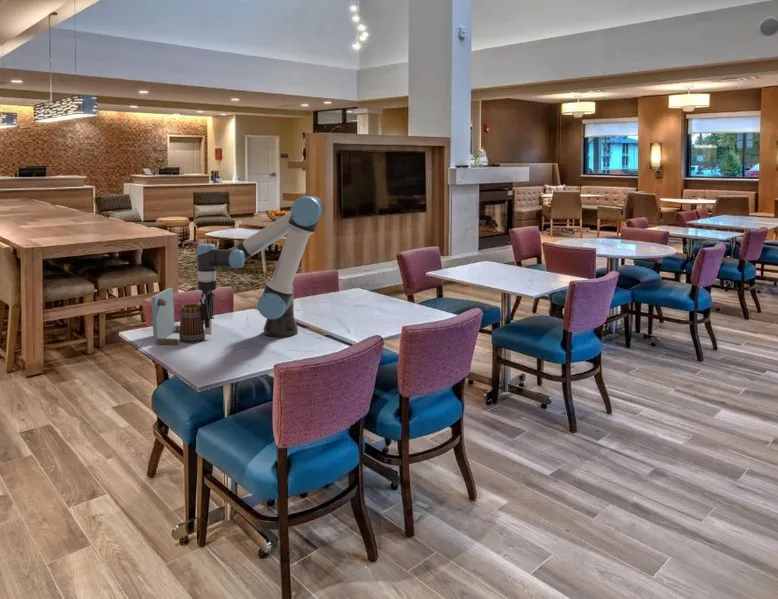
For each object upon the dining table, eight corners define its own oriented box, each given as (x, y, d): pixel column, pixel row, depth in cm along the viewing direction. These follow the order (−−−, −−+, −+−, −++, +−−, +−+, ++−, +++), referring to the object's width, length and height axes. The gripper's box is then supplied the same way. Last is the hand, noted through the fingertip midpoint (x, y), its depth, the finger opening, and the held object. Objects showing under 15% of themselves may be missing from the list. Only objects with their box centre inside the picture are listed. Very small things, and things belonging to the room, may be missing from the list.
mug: (195, 344, 262) (194, 309, 259) (174, 341, 266) (172, 307, 262) (216, 335, 277) (215, 302, 274) (196, 332, 280) (194, 299, 277)
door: (180, 331, 281) (178, 287, 277) (163, 344, 262) (160, 297, 257) (171, 331, 281) (169, 287, 277) (153, 343, 262) (151, 296, 258)
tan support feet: (193, 331, 282) (193, 326, 282) (176, 345, 260) (175, 339, 260) (176, 330, 282) (175, 325, 282) (157, 344, 260) (156, 338, 260)
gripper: (202, 277, 272) (204, 330, 277) (193, 282, 259) (195, 337, 264) (220, 278, 272) (221, 330, 277) (211, 283, 259) (212, 338, 264)
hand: (208, 334), depth 271 cm, fingers closed
